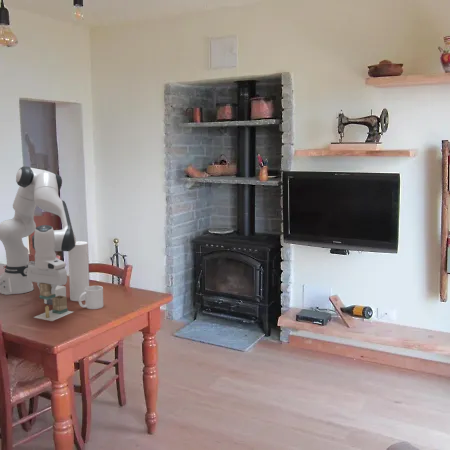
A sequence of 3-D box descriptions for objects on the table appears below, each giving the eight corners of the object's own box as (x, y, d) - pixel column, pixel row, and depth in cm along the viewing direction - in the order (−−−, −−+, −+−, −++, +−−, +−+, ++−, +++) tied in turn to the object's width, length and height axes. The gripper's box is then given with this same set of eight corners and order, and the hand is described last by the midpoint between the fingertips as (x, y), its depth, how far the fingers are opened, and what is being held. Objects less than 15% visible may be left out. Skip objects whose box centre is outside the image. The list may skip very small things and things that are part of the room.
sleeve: (39, 298, 230) (38, 283, 229) (47, 295, 234) (46, 280, 233) (47, 300, 228) (47, 284, 227) (55, 297, 232) (54, 281, 231)
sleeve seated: (52, 312, 238) (51, 298, 237) (59, 309, 242) (59, 295, 241) (60, 314, 236) (59, 299, 235) (67, 311, 240) (67, 296, 239)
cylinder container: (84, 304, 255) (81, 244, 250) (66, 302, 257) (64, 243, 252) (92, 298, 264) (91, 240, 260) (76, 297, 266) (74, 239, 262)
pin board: (33, 319, 232) (32, 306, 231) (55, 310, 244) (55, 298, 243) (52, 323, 227) (51, 310, 226) (73, 314, 240) (73, 301, 239)
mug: (82, 314, 240) (81, 292, 238) (75, 309, 246) (74, 288, 245) (106, 309, 248) (105, 288, 246) (98, 305, 254) (98, 284, 252)
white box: (43, 305, 252) (42, 287, 250) (53, 302, 258) (53, 284, 256) (56, 308, 248) (55, 290, 247) (66, 304, 255) (65, 286, 253)
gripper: (22, 261, 230) (24, 291, 232) (58, 266, 221) (60, 297, 224) (33, 258, 235) (34, 288, 238) (68, 263, 227) (70, 293, 229)
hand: (47, 292), depth 230 cm, fingers closed on sleeve, 4 cm apart
